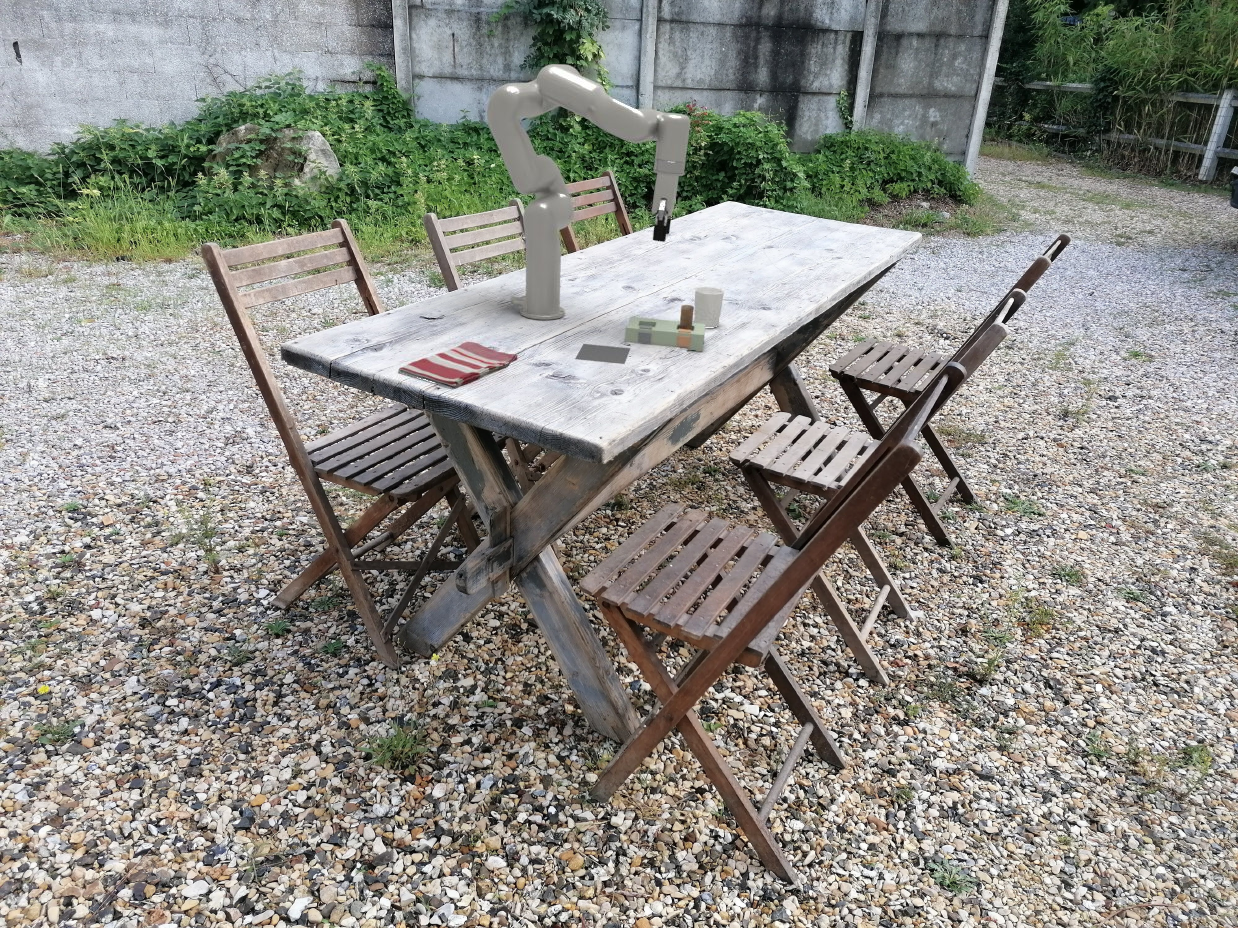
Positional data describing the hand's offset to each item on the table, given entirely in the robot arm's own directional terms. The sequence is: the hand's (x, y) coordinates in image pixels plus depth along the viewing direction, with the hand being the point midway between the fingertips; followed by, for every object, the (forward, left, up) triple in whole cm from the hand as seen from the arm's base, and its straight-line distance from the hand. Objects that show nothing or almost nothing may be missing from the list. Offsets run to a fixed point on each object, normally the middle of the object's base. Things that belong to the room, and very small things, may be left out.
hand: (661, 237), depth 215 cm
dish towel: (-41, -40, -26) cm, 63 cm away
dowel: (+9, -7, -26) cm, 28 cm away
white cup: (+14, +11, -26) cm, 31 cm away
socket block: (+4, -8, -26) cm, 27 cm away
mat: (-10, -24, -26) cm, 36 cm away
